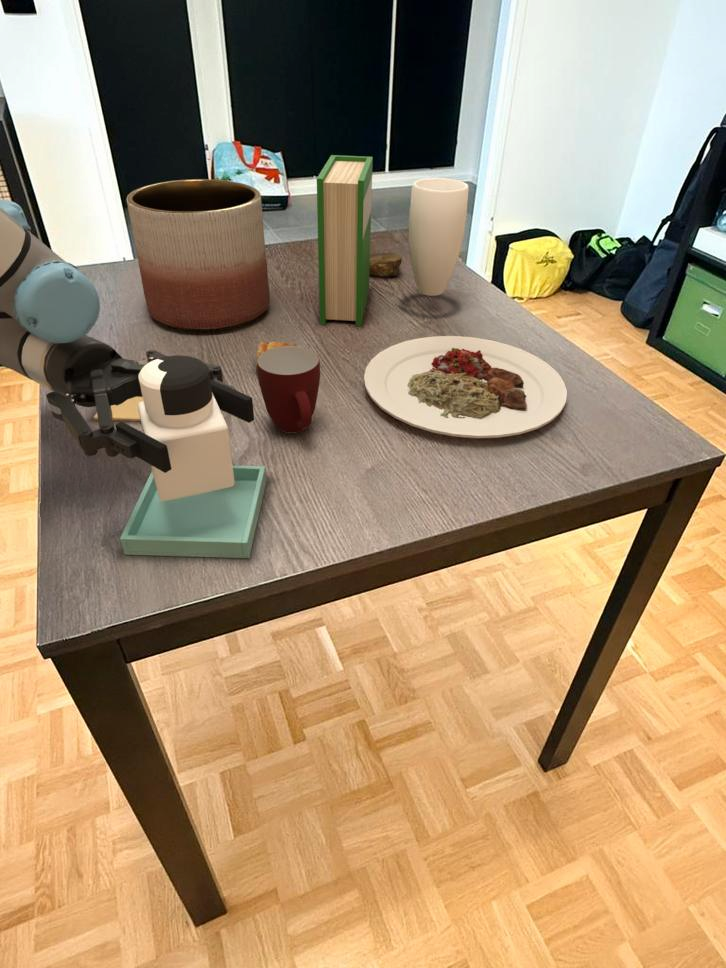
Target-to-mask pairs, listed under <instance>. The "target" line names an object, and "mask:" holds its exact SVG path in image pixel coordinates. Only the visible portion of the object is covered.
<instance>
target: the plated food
mask: <svg viewBox="0 0 726 968" xmlns="http://www.w3.org/2000/svg"><path fill="white" fill-rule="evenodd" d="M363 381H364V386H365V390H366V392H367V394H368V396H369V397H370V399H371V400H372V401H373V402H374V404H376V406H378V407H379V408H380V409H381V410H382V411H383V412H385V413H387V414H388V415H389V416H391V417H393V418H394V419H396V420H399V421H400V422H402V423H405V424H407V425H409V426H411V427H414V428H418V429H421V430H424V431H428V432H430V433H433V434H439V435H445V436H451V437H455V438H469V439H494V438H495V439H497V438H498V439H499V438H505V437H512V436H518V435H522V434H525V433H529V432H532V431H535V430H538V429H540V428H542V427H544V426H545V425H547V424H549V423H551V422H553V420H555V418H557V417H558V416H559V415H560V414H561V413H562V411H563V409H564V407H565V405H566V403H567V397H568V390H567V388H566V384H565V382H564V380H563V378H562V377H561V375H560V374H559V372H557V370H555V369H554V368H553V367H552V366H551V365H550V364H549V363H548V362H546V361H544V360H543V359H541V358H540V357H538V356H537V355H534V354H533V353H530V352H528V351H526V350H524V349H521V348H519V347H516V346H514V345H511V344H508V343H504V342H501V341H496V340H492V339H487V338H481V337H480V338H479V337H474V336H473V337H472V336H460V335H435V336H426V337H425V336H424V337H419V338H413V339H409V340H404V341H402V342H398V343H397V344H394V345H391V346H389V347H387V348H385V349H383V350H381V351H380V352H378V353H377V354H376V355H375V356H374V357H373V358H372V359H371V360H370V361H369V362H368V364H367V366H366V367H365V370H364V375H363Z"/></svg>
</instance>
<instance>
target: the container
mask: <svg viewBox="0 0 726 968" xmlns="http://www.w3.org/2000/svg"><path fill="white" fill-rule="evenodd" d="M205 363H206V362H203V361H202V360H201V359H199V358H196V357H193V356H188V355H179V354H178V355H167V356H166V357H162V358H159V359H156V360H153V361H151V362H149V363H148V364H146V365H145V366H144V367H143V368H142V370H141V371H140V373H139V376H138V378H139V383H140V387H141V392H142V396H143V401H142V402H139V403H138V406H137V407H138V411H139V415H140V420H141V421H140V423H141V428H142V433H144V434H146V435H148V436H150V437H152V438H154V439H155V440H157V441H159V442H161V443H163V444H165V445H167V449H168V454H169V459H170V464H171V470H170V471H168V472H166V473H164V472H162V471H161V470H159V469H157V468H155V467H154V466H152V465H150V467H151V472H153V476H154V480H155V484H156V488H157V492H158V496H159V499H160V501H162V502H165V501H170V500H174V499H179V498H183V497H188V496H192V495H197V494H201V493H206V492H210V491H215V490H220V489H224V488H229V487H232V486H234V484H235V481H234V473H233V465H234V464H233V457H232V450H231V443H230V435H229V433H230V432H229V427H228V424H227V422H226V420H225V417H224V415H223V412H222V410H220V408H219V406H218V404H217V402H216V399H215V397H214V395H213V393H212V389H211V382H210V374H209V368H208V367H207V365H206V364H205Z"/></svg>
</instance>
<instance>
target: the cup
mask: <svg viewBox="0 0 726 968" xmlns="http://www.w3.org/2000/svg"><path fill="white" fill-rule="evenodd" d="M469 190H470V189H469V184H468V183H466V182H465V181H462V180H458V179H453V178H445V177H425V178H420V179H417V180H415V181H413V182H412V185H411V194H410V205H409V214H408V248H409V257H410V264H411V270H412V274H413V277H414V281H415V285H416V288H417V291H418V292H419V293H420V294H421V295H425V296H432V297H433V296H434V297H435V296H439V295H442V294H443V293H444V292H445V290H446V288H447V286H448V284H449V282H450V280H451V278H452V275H453V273H454V271H455V268H456V265H457V262H458V259H459V256H460V253H461V249H462V247H463V246H462V245H463V241H464V235H465V227H466V222H467V213H468V212H467V211H468V202H469V201H468V200H469Z"/></svg>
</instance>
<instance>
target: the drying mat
mask: <svg viewBox="0 0 726 968" xmlns="http://www.w3.org/2000/svg"><path fill="white" fill-rule="evenodd" d="M142 401H143V397H137V396H136V397H134V398H131V399H128V400H126V401H125V402H123V403H122V404H120V405H117V406H116V405H112V406H111V410H112V415H113V421H120V422H125V421H126V422H141V420H140V415H139V411H138V407H137V406H138V403H139V402H142ZM93 420H94V421H98V415H97V412H96V413H95V414H94V416H93Z"/></svg>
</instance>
